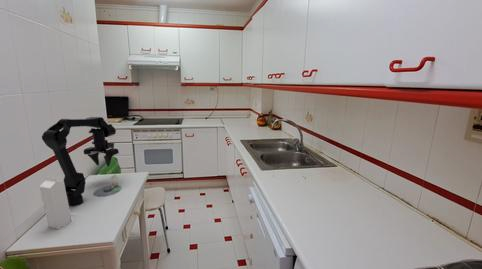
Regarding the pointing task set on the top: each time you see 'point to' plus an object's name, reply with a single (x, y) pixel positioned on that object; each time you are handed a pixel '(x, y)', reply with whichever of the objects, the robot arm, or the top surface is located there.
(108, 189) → the peg
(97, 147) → the robot arm
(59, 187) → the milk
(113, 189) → the grey round disc
